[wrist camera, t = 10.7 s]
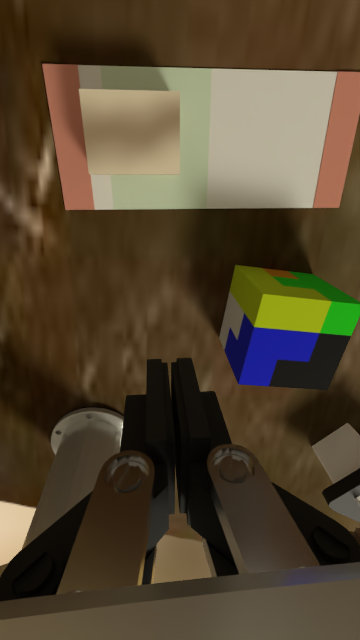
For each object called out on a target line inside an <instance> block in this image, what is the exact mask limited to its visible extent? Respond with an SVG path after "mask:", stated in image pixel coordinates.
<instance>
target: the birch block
mask: <svg viewBox="0 0 360 640" xmlns="http://www.w3.org/2000/svg"><path fill="white" fill-rule="evenodd" d="M79 95H80V104H81V112H82V121H83V129H84V138H85V146H86V154H87V163H88V171H89V174H95V175H179V174H180V91H148V90H107V89H79Z"/></svg>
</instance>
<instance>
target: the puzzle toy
mask: <svg viewBox="0 0 360 640" xmlns="http://www.w3.org/2000/svg"><path fill="white" fill-rule="evenodd" d="M359 316H360V302H359V301H357V300H356V299H354V298H352V297H350V296H349V295H347V294H345V293H344V292H342V291H340V290H339V289H337V288H335V287H334V286H332V285H330V284H329V283H327V282H325V281H324V280H322V279H320V278H319V277H317V276H315V275H313V274H307V273H299V272H291V271H282V270H274V269H266V268H257V267H249V266H241V265H235V269H234V273H233V278H232V282H231V287H230V291H229V296H228V300H227V305H226V309H225V314H224V318H223V323H222V327H221V332H220V336H219V338H220V341H221V343H222V346H223V348H224V351H225V353H226V355H227V358H228V360H229V363H230V365H231V368H232V370H233V372H234V375H235V377H236V380H237V382H238V384H242V385H257V386H273V387H288V388H304V389H319V390H328V387H329V385H330V383H331V381H332V378H333V376H334V374H335V371H336V369H337V367H338V365H339V362H340V360H341V358H342V355H343V353H344V351H345V349H346V346H347V344H348V342H349V339H350V337H351V335H352V332H353V330H354V328H355V326H356V323H357V321H358V319H359Z"/></svg>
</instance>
